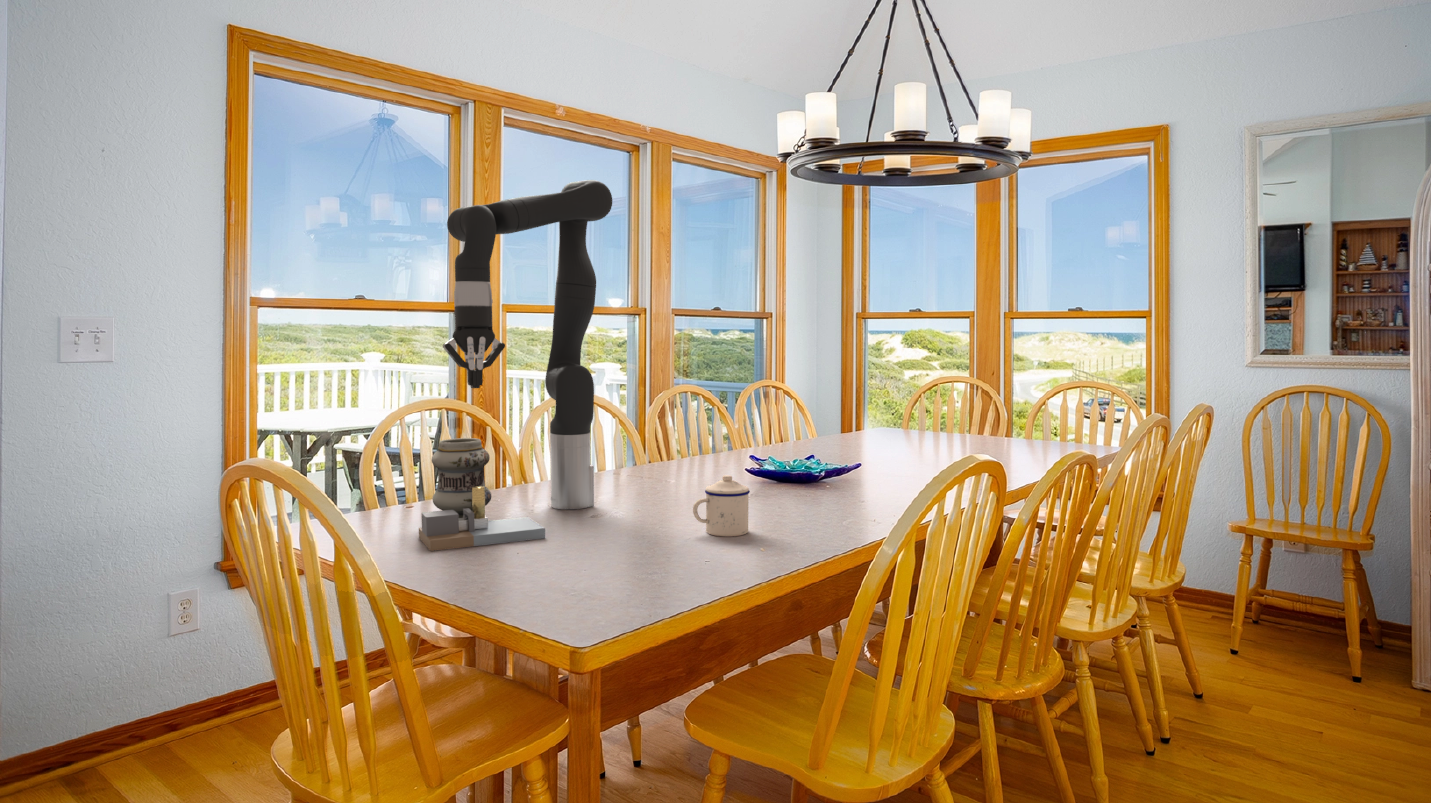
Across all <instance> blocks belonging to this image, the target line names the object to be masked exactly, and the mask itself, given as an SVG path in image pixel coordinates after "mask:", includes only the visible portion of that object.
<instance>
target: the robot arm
mask: <svg viewBox="0 0 1431 803" xmlns="http://www.w3.org/2000/svg"><path fill="white" fill-rule="evenodd" d="M612 207H613V195H612V192H611V191H610V189H609V187H608V186H607V185H606V184H605V183H603V182H601V181H600V180H596V179H586V180H579V181H571V182H569V183H567V184H565V185H564V186H563V188H562V190H561V191H560V192H555V193H549V194H548V193H547V194H537V195H526V196H520V197H513V198H509V199H503V200H499V201H495V202H491V203H488V204H475V205H469V206H463V207H458V208H456V209H454V210H453V211H452V212H451V213H450V214H449V216H448V218H447V223H446V227H447V230H448V232H449V234H450V235H451V237H453V238H454V239H455V240H457V241H459V242H464V245H463V250H462V251H461V252H460V253H459V254H457V255H456V257H455V260H454V279H455V281H454V282H455V283H454V293H453V294H454V295H453V296H454V297H453V299H454V305H453V306H454V332H453V333H452V338H451V339H450V340H448V341H447V342H445V343H443V344H442V348H443V349H444V351H445V352H446V353H447V354H448V356H450V357H451V359H452V360H453V362H455V364H456V365H457V366H458V367H459V368H463V369H466V372H467V373H466V375H467V377H466V378H467V379H466V380H467V381H466V382H467V385H468V386H470V388H471V389H480V388H481V386H483V383H484V382H483V381H484V380H483V379H484V378H483V374H484V373H483V371H484V369H486V368H489V367H491V366H492V365H493V364H494V362H495V361H496V360H497V358H498V357H499V356H500V354H501V353H502V351H504V349H505V348H506V344H505V343H504V342H501V341H500V340H498V338H496V334H495V332H494V329H493V303H494V302H493V293H492V285H491V258H492V255H493V251H494V246H495V241H496V237H497V236H496V235H506V234H507V235H508V234H514V233H518V232H524V231H527V230H532V229H536V228H539V227H543V226H547V225H551V224H556V223H558V227H559V228H558V229H559V230H558V232H559V234H558V235H559V236H558V237H559V240H558V242H559V243H558V254H557V255H558V258H557V273H556V282H555V288H554V289H555V291H554V292H555V293H554V306H553V308H554V310H553V322H552V337H551V347H550V351H549V353H550V354H549V357H548V362H547V367H546V372H545V373H546V374H545V379H544V382H545V389H546V393H548V395H549V397H550V398H552V400H553V401H555V413H554V416H553V418H552V420H550V424H549V441H550V442H549V444H550V445H549V446H550V449H549V450H550V451H549V452H550V454H549V455H550V505H551V506H550V508H553V509H557V510H558V509H559V510H579V509H580V510H581V509H586V508H589V507H595V478H594V477H595V471H594V470H595V468H594V465H593V464H592V463H591V462H592V459H591V452H592V451H591V425H592V423H593V420H594V419H593V418H594V409H595V408H594V407H595V406H594V404H595V383H594V379H593V375H592V374H591V371H590V370H589V369H588V368H587V367H585V366H584V365H581V358H582V357H581V355H582V345H583V340H584V337H585V335H586V332H587V329H588V327H589V324H590V322H591V319H592V317H593V314H594V309H595V303H596V294H597V277H596V273H595V269H594V266H593V264H592V261H591V258H590V256H589V255H590V254H589V253H588V248H587V228H588V223H589V222H596V221H599V220H602V219H604V218H606V216H608V214H610V212H611V210H612ZM457 346H458V347H459V349H460V350H461V351H462V352H463V354H464V359H465V360H464V359H463V358H462V357H461V355H460V354H459V353H458V352H457V351H456V350H457ZM490 347H491V349H492V350H491V351H490V353H488V355H487V356H486V357H485V353H486V352H487V351H488V350H489V348H490Z"/></svg>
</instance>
